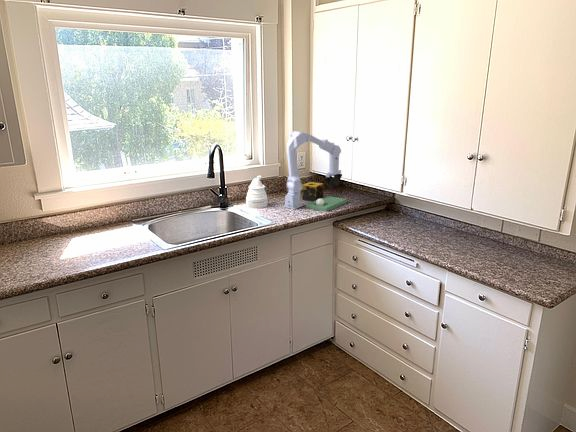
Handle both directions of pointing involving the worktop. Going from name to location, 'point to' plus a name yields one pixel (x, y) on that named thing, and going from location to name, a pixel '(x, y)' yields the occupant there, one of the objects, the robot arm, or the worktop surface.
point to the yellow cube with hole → (312, 191)
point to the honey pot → (256, 195)
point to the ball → (320, 202)
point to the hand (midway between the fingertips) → (333, 186)
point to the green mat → (327, 203)
